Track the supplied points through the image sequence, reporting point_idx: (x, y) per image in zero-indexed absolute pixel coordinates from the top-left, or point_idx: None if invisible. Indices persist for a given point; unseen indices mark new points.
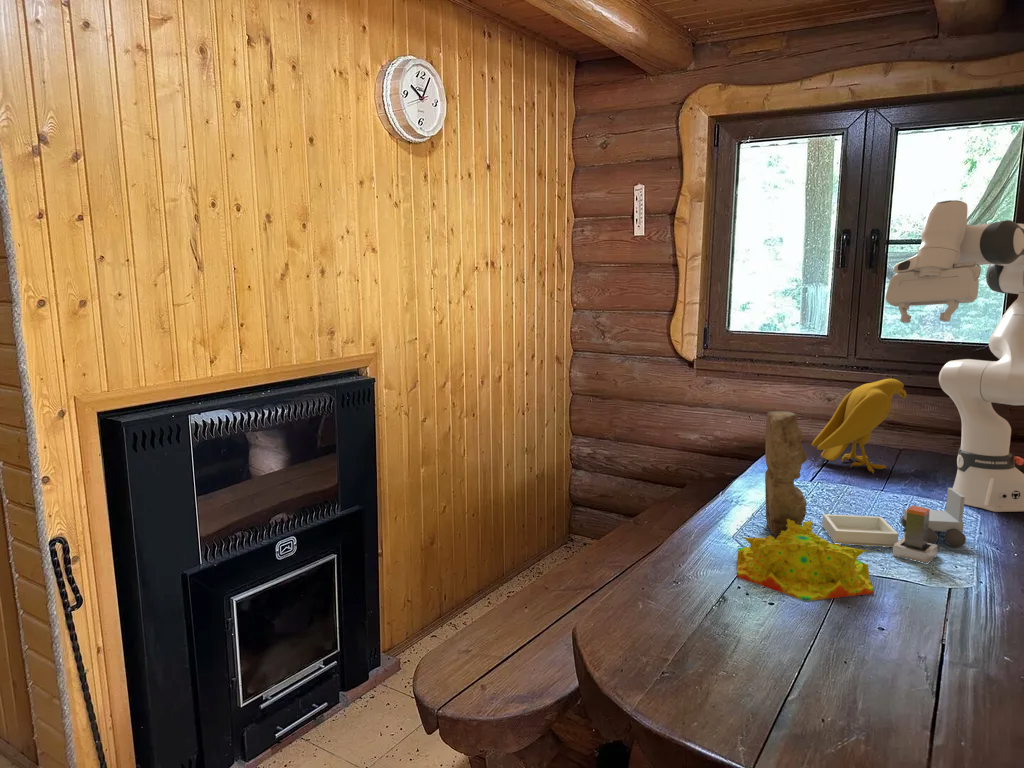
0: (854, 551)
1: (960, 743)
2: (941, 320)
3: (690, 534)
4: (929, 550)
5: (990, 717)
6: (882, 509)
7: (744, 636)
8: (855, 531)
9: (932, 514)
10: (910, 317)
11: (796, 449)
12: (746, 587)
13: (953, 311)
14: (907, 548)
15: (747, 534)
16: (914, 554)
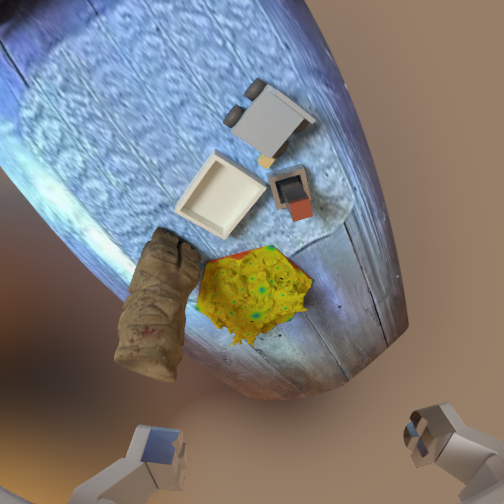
0: (300, 301)
1: (394, 335)
2: (410, 427)
3: None
4: (307, 190)
5: (399, 318)
6: (157, 77)
7: (297, 359)
8: (236, 223)
9: (267, 120)
10: (176, 460)
11: (182, 331)
12: None
13: (481, 439)
14: None
15: None
16: None
